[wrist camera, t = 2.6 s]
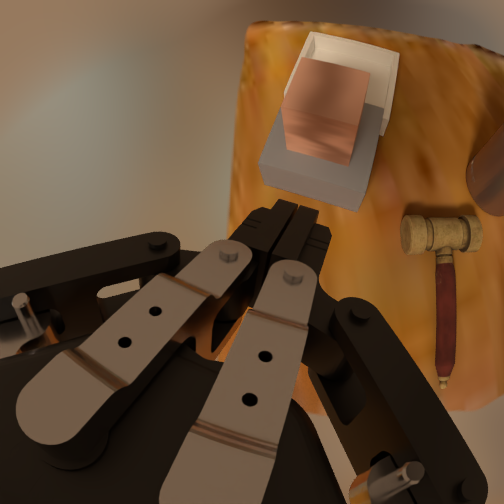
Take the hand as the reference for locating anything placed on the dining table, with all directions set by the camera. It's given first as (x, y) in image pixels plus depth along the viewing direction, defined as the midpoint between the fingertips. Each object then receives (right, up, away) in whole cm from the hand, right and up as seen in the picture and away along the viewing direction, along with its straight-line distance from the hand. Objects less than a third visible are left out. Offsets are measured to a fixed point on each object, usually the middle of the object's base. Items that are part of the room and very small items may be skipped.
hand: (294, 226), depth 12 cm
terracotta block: (+7, +12, +22) cm, 26 cm away
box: (+12, +23, +30) cm, 40 cm away
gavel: (+21, -7, +22) cm, 32 cm away
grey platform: (+8, +11, +28) cm, 31 cm away
